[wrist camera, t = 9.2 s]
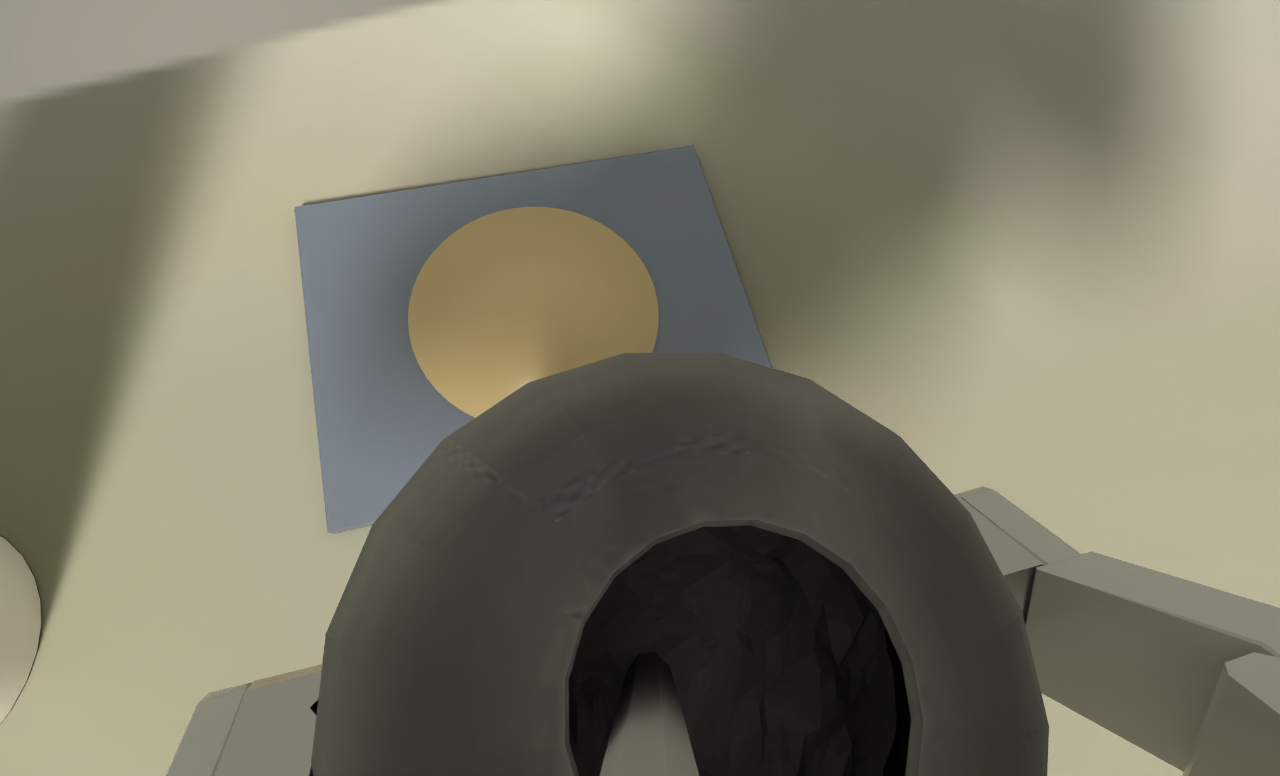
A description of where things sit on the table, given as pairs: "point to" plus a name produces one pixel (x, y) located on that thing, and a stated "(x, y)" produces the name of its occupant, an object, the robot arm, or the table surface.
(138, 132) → the table surface
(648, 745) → the beverage cup
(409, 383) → the card
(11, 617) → the cylindrical container
